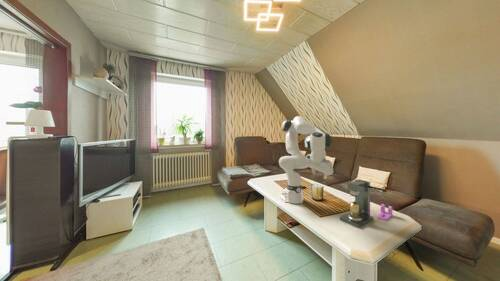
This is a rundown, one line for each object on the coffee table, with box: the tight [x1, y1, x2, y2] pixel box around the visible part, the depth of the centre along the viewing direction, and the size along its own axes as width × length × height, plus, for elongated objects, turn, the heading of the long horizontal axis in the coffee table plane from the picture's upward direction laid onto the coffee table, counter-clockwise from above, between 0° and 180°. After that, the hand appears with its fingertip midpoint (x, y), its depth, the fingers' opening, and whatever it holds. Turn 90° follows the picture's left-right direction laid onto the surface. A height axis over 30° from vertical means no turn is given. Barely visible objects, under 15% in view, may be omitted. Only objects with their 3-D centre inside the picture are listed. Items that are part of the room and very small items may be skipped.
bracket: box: [376, 203, 393, 222], centre depth 116 cm, size 13×6×7 cm, turn 126°
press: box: [339, 178, 387, 229], centre depth 109 cm, size 18×20×25 cm
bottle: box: [349, 200, 359, 219], centre depth 112 cm, size 5×5×10 cm
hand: (319, 176), depth 115 cm, fingers open, 8 cm apart
